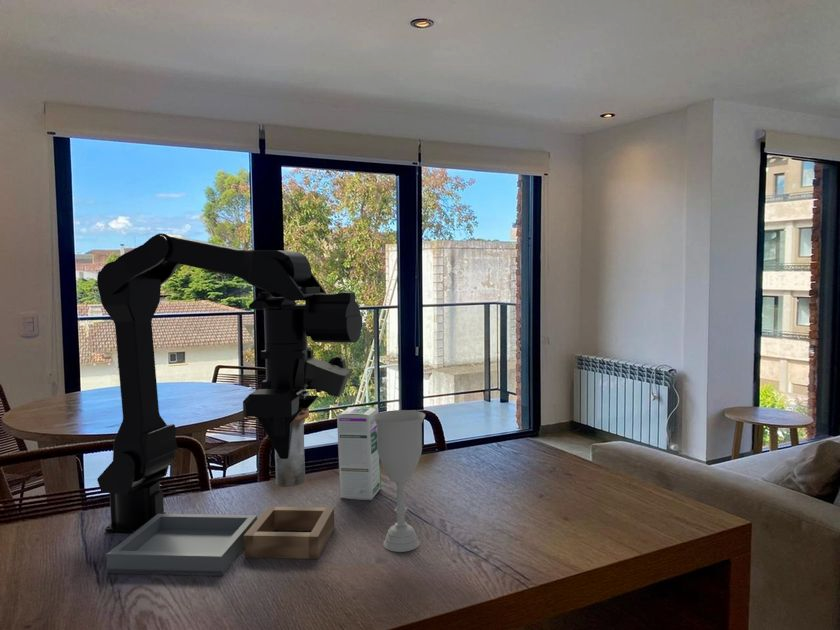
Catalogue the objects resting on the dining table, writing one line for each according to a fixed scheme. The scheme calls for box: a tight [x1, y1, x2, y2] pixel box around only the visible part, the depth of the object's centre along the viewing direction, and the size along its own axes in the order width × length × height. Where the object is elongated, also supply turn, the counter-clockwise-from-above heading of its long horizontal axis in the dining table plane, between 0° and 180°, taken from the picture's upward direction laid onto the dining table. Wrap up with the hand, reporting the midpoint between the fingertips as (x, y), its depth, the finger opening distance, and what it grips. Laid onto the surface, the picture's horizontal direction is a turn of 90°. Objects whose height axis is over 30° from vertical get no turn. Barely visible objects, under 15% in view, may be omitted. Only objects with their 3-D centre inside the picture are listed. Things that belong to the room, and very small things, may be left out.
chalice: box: [373, 409, 426, 553], centre depth 83 cm, size 7×7×18 cm
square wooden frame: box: [243, 506, 336, 560], centre depth 85 cm, size 10×10×3 cm
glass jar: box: [274, 407, 310, 488], centre depth 84 cm, size 6×6×10 cm
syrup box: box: [336, 406, 382, 501], centre depth 103 cm, size 6×6×14 cm
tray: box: [105, 513, 258, 577], centre depth 82 cm, size 15×13×2 cm
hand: (289, 453), depth 84 cm, fingers closed on glass jar, 5 cm apart
